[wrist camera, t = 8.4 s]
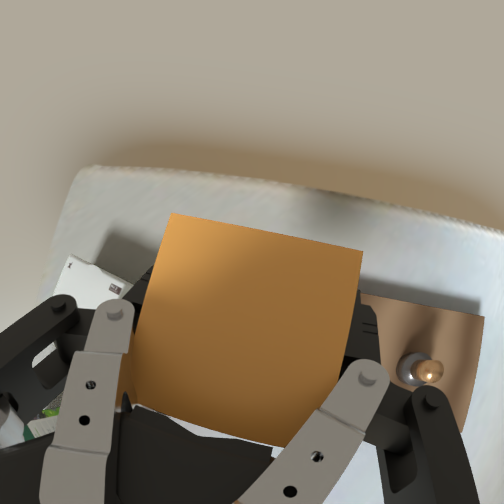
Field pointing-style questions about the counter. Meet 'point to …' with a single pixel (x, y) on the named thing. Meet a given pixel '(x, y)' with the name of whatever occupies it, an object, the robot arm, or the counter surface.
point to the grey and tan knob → (418, 369)
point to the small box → (89, 283)
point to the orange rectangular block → (243, 328)
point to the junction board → (431, 345)
